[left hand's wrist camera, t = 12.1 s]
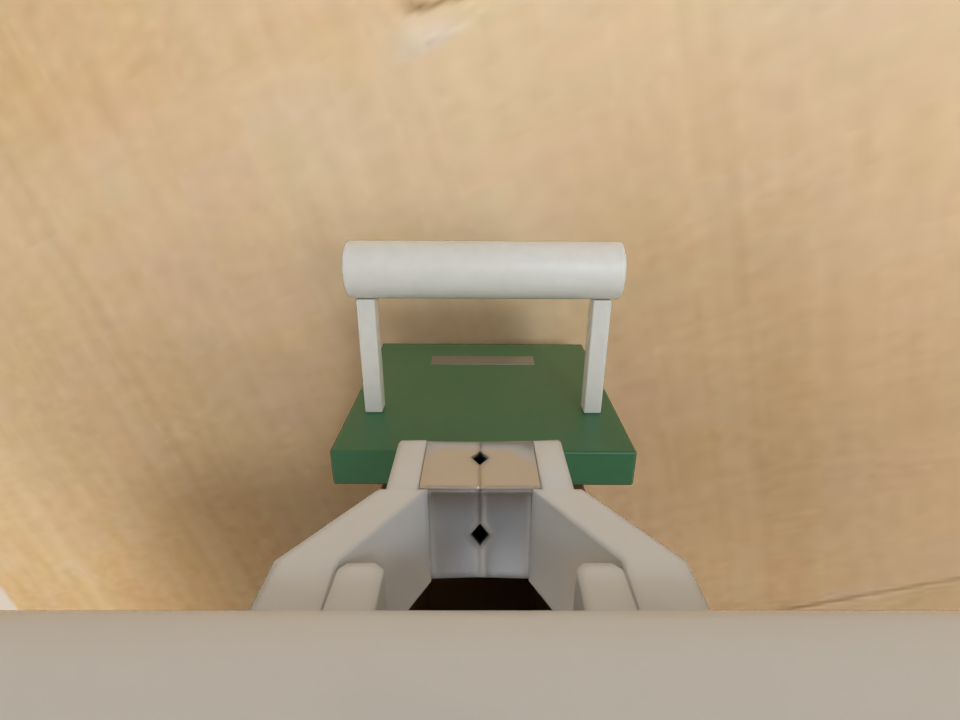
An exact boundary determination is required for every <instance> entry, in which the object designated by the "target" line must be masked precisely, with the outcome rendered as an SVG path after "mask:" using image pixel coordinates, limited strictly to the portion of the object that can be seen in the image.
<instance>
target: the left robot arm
mask: <svg viewBox="0 0 960 720" xmlns="http://www.w3.org/2000/svg"><path fill="white" fill-rule="evenodd" d="M466 577H492V578H529V582H530V583H531V584H532V585H533V587H534V588H535V589H536V590H537V592H538V593H539V594H540V595H541V597H542V598H543V599H544V600H545V602H546V603H547V604H548V605H549V607H550V608H551V609H552V610H409V608H410V607H411V606H412V605H413V603H414V602H415V601H416V600H417V598H418V597H419V596H420V595H421V593H422V592H423V591H424V590H425V588H426V587H427V586H428V585H429V583H430V582H431V578H466ZM0 720H960V610H710V608H709V606H708V604H707V602H706V600H705V598H704V596H703V594H702V592H701V590H700V588H699V586H698V584H697V582H696V580H695V578H694V576H693V574H692V572H691V570H690V568H689V566H688V564H687V562H686V561H685V560H683V559H682V558H680V557H679V556H677V555H676V554H675V553H673V552H672V551H670V550H669V549H667V548H666V547H664V546H663V545H662V544H660V543H659V542H657V541H656V540H654V539H653V538H651V537H650V536H649V535H647V534H646V533H644V532H643V531H641V530H640V529H638V528H637V527H636V526H634V525H633V524H631V523H630V522H628V521H627V520H625V519H624V518H623V517H621V516H620V515H618V514H617V513H615V512H614V511H612V510H611V509H609V508H608V507H607V506H605V505H604V504H602V503H601V502H599V501H598V500H596V499H595V498H594V497H592V496H591V495H589V494H588V493H586V492H585V491H583V490H582V489H574V488H573V484H572V480H571V477H570V473H569V470H568V466H567V463H566V459H565V455H564V452H563V448H562V445H561V442H560V441H559V440H542V441H496V442H480V441H430V440H429V441H428V442H427V440H402V441H401V442H400V443H399V444H398V448H397V451H396V455H395V459H394V462H393V466H392V469H391V473H390V477H389V480H388V484H387V487H386V489H378V490H377V491H375V492H374V493H372V494H371V495H369V496H368V497H366V498H365V499H364V500H362V501H361V502H359V503H358V504H356V505H355V506H353V507H352V508H350V509H349V510H348V511H346V512H345V513H343V514H342V515H340V516H339V517H337V518H336V519H334V520H333V521H332V522H330V523H329V524H327V525H326V526H324V527H323V528H321V529H320V530H318V531H317V532H316V533H314V534H313V535H311V536H310V537H308V538H307V539H305V540H304V541H302V542H301V543H300V544H298V545H297V546H295V547H294V548H292V549H291V550H289V551H288V552H286V553H285V554H284V555H282V556H281V557H279V558H278V559H276V560H275V561H274V563H273V564H272V566H271V568H270V570H269V572H268V574H267V576H266V578H265V580H264V582H263V584H262V586H261V588H260V590H259V592H258V594H257V596H256V598H255V600H254V602H253V604H252V606H251V608H250V610H0Z"/></svg>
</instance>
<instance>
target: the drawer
mask: <svg viewBox="0 0 960 720" xmlns="http://www.w3.org/2000/svg"><path fill="white" fill-rule="evenodd" d="M342 276H343V283H344V288H345V291H346V293H347V295H348V297H350V298H357V299H356V307H357V319H358V331H359V342H360V354H361V366H362V378H363V386H362V388H361V390H360V393H359V395H358V397H357V399H356V401H355V403H354V405H353V407H352V409H351V411H350V413H349V415H348V417H347V419H346V421H345V423H344V425H343V427H342V429H341V431H340V433H339V435H338V437H337V439H336V441H335V443H334V445H333V447H332V449H331V452H330V454H331V463H332V471H333V480H334V483H336V484H382V485H381V489H386V487H387V484H388V480H389V477H390V473H391V469H392V466H393V462H394V459H395V455H396V451H397V448H398V444H399V443H400V442H401V441H402V440H427V442H428V441H429V440H430V441H480V442H496V441H542V440H559V441H560V442H561V445H562V448H563V452H564V455H565V459H566V463H567V466H568V470H569V473H570V477H571V480H572V484H573V488H574V489H582V490H583V491H585V488H584V485H631V484H632V483H633V477H634V469H635V462H636V454H637V453H636V451H635V449H634V447H633V445H632V443H631V441H630V439H629V437H628V435H627V433H626V431H625V429H624V427H623V425H622V423H621V421H620V419H619V417H618V416H617V414H616V412H615V410H614V408H613V406H612V404H611V402H610V400H609V398H608V396H607V394H606V392H605V390H604V388H603V385H604V374H605V364H606V354H607V344H608V334H609V324H610V314H611V304H612V302H611V300H610V299H618V298H620V296H621V295H622V292H623V289H624V285H625V280H626V253H625V249H624V246H623V244H622V243H621V242H581V241H347V242H346V243H345V246H344V249H343V255H342ZM378 298H460V299H590V303H589V315H588V327H587V339H586V351H584V349H583V347H582V345H545V344H383V346H382V348H381V338H380V323H379V309H378ZM409 610H552V609H551V608H550V607H549V605H548V604H547V603H546V602H545V600H544V599H543V598H542V597H541V595H540V594H539V593H538V592H537V590H536V589H535V588H534V587H533V585H532V584H531V583H530V582H529V578H492V577H466V578H431V582H430V583H429V585H428V586H427V587H426V588H425V590H424V591H423V592H422V593H421V595H420V596H419V597H418V598H417V600H416V601H415V602H414V603H413V605H412V606H411V607H410V608H409Z"/></svg>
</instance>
